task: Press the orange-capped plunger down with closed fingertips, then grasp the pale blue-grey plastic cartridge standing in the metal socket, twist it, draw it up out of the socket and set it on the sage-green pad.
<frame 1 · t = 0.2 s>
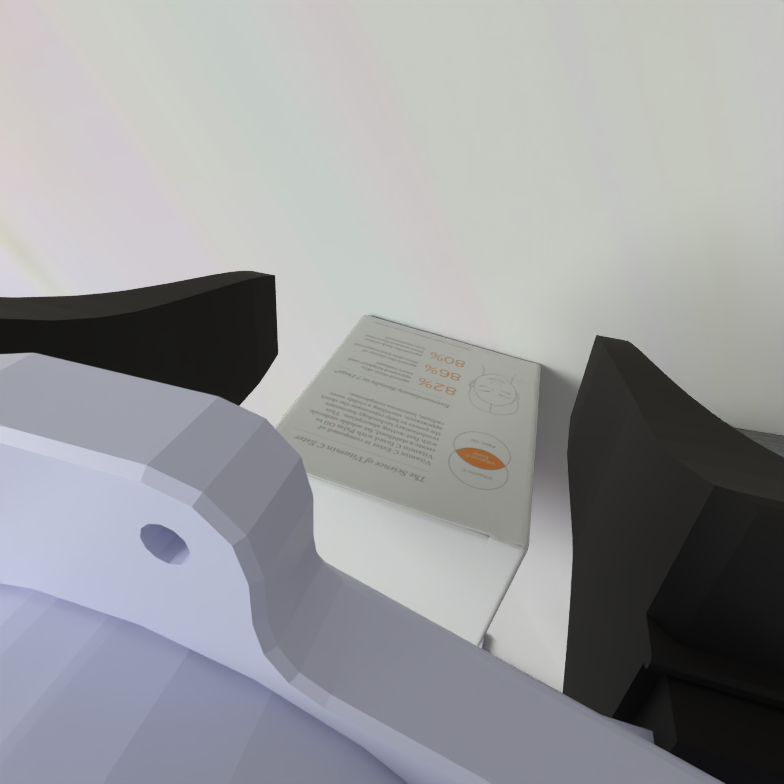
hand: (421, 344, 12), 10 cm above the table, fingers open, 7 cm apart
small box: (439, 386, 25), on the table
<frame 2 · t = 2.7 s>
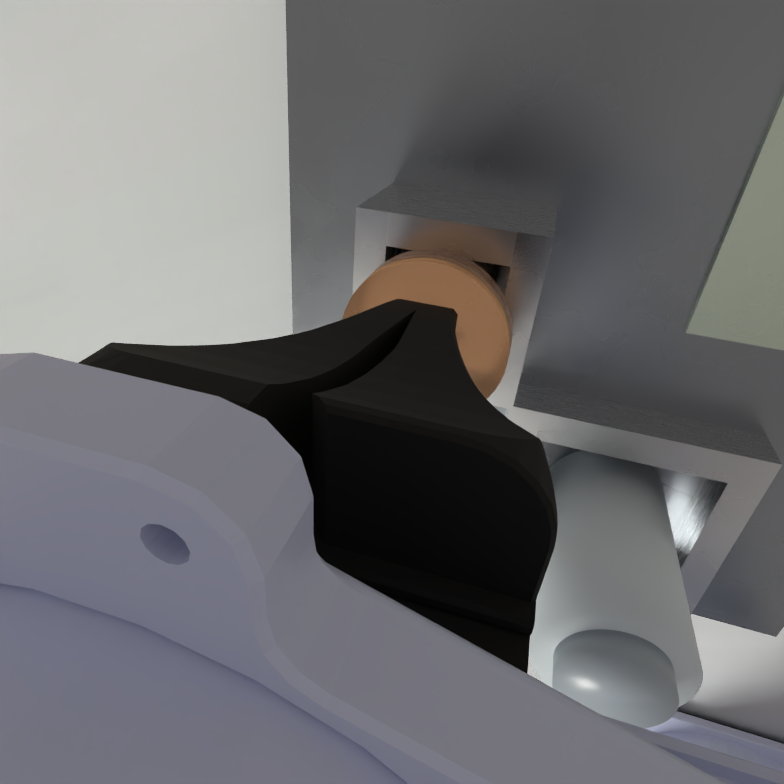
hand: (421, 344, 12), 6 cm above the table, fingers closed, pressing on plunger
cartridge: (600, 495, 19), point 1 cm above the table, touching housing
plunger: (440, 311, 14), point 4 cm above the table, slide at 1.3 cm, touching gripper
housing: (578, 342, 17), on the table
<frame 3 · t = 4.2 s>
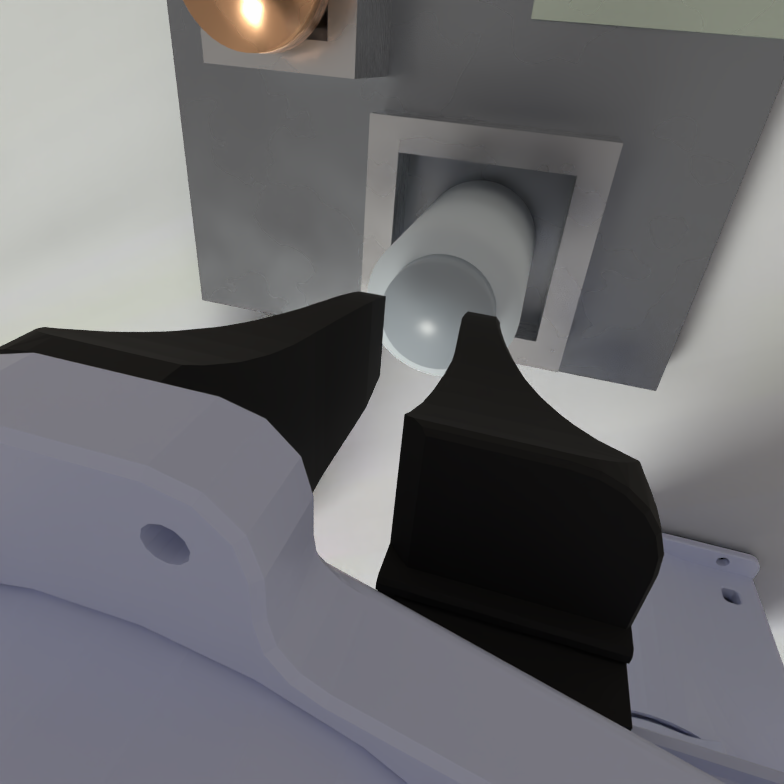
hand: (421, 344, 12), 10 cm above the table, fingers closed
cartridge: (477, 239, 19), point 1 cm above the table, touching housing
housing: (447, 70, 18), on the table
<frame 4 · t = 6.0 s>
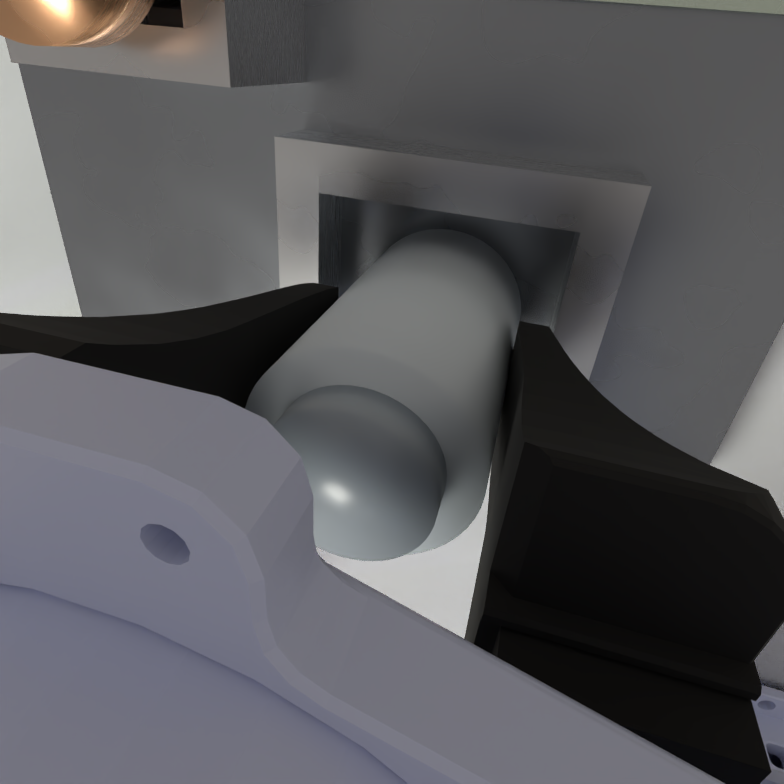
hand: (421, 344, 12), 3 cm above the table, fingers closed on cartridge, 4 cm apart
cartridge: (440, 308, 14), point 1 cm above the table, touching gripper, housing
housing: (394, 73, 12), on the table
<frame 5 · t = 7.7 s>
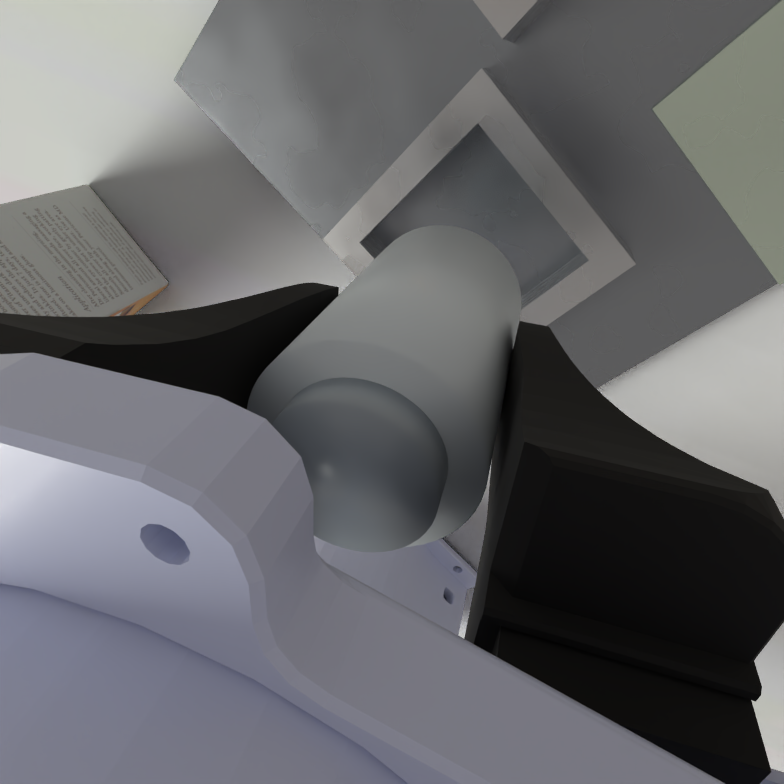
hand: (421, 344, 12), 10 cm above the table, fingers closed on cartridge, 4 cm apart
small box: (93, 274, 27), on the table
cartridge: (441, 304, 14), point 8 cm above the table, touching gripper
housing: (557, 80, 17), on the table
when the fingers open (5 cm above the table, at t = 9.8 s): cartridge stays where it is, resting on housing.
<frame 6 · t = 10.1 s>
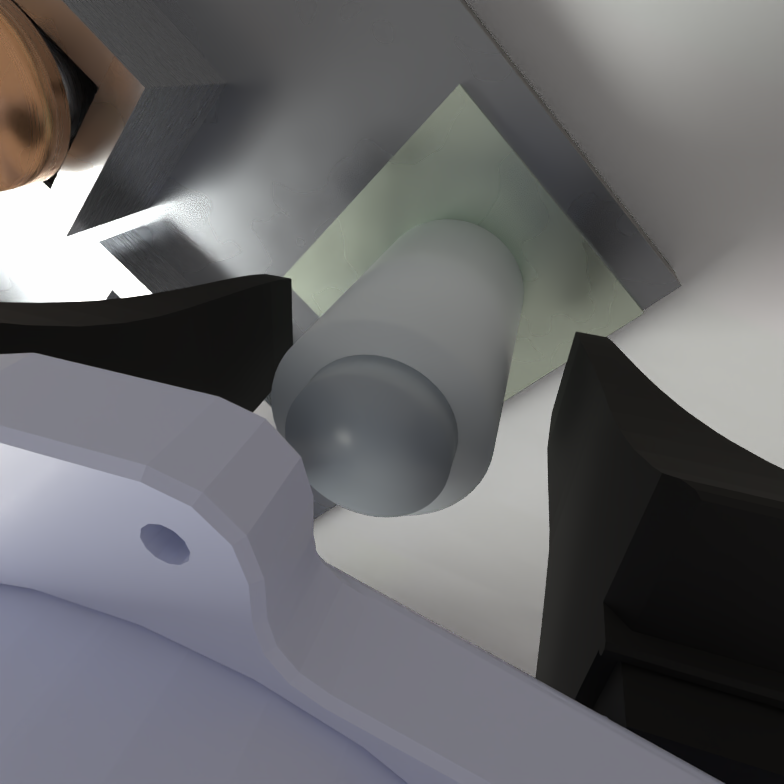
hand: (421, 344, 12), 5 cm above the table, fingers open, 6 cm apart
cartridge: (448, 294, 15), point 1 cm above the table, touching housing
plunger: (33, 86, 12), point 4 cm above the table, slide at 1.5 cm
housing: (217, 234, 17), on the table
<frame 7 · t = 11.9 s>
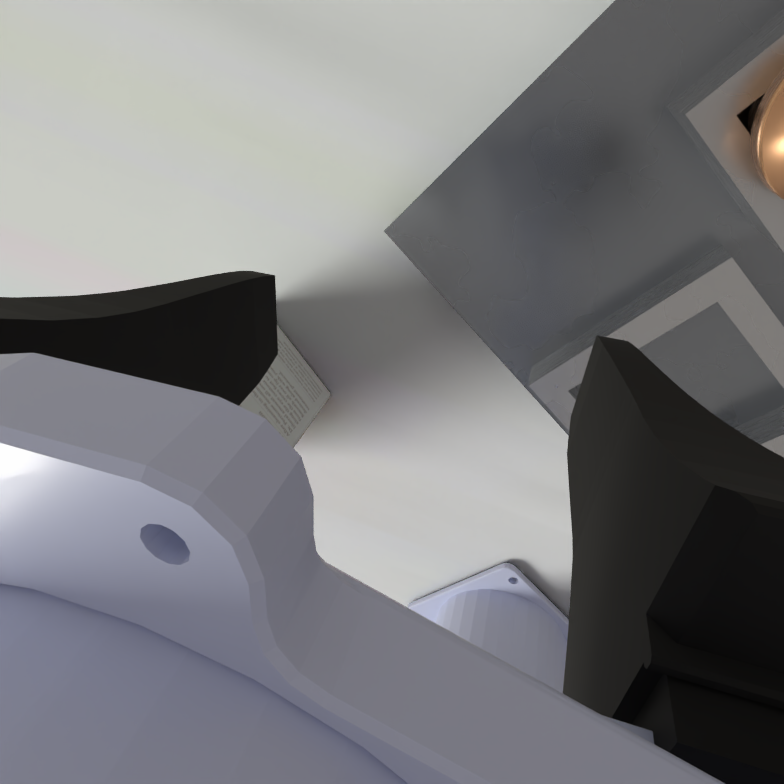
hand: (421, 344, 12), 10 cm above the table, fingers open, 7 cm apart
small box: (249, 380, 28), on the table
housing: (779, 248, 18), on the table
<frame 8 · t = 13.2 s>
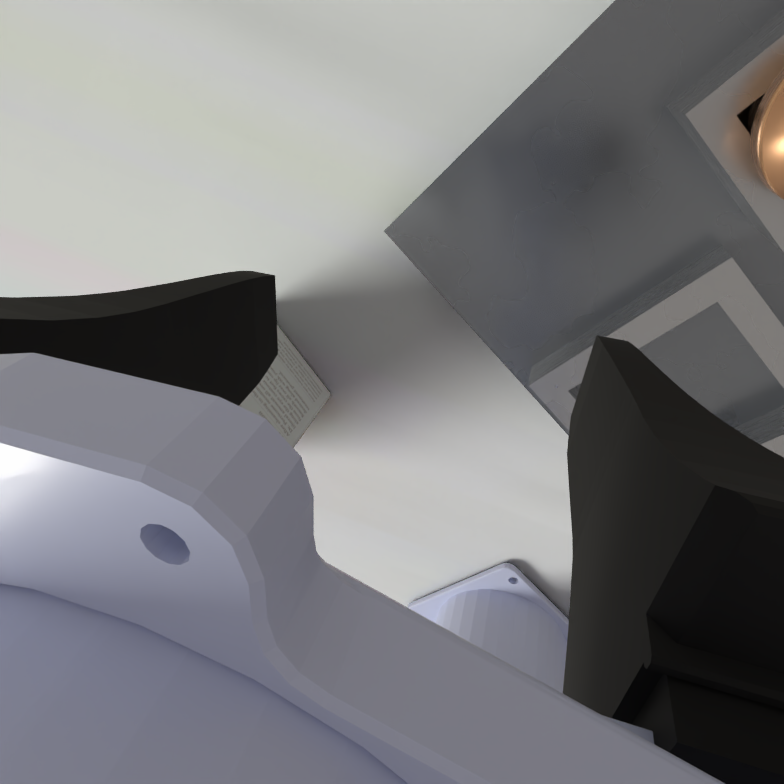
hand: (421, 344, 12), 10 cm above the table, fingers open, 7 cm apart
small box: (249, 380, 28), on the table
housing: (779, 248, 18), on the table
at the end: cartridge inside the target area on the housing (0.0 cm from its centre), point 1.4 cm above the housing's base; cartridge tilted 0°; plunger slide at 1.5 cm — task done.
